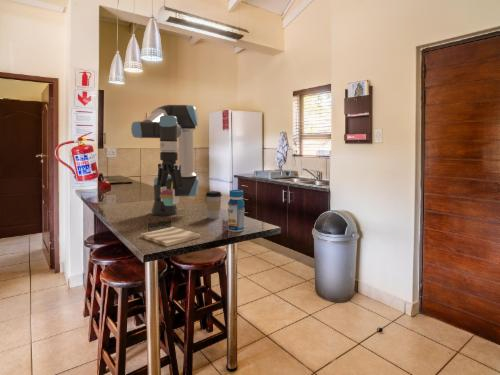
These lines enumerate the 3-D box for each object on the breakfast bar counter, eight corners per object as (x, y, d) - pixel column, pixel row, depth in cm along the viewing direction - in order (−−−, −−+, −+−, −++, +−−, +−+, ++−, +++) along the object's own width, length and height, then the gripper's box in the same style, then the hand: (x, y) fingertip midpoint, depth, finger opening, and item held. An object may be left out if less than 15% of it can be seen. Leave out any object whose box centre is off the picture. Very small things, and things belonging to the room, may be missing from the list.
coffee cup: (219, 220, 183) (219, 193, 181) (203, 219, 185) (203, 193, 183) (223, 216, 193) (223, 191, 191) (208, 215, 194) (208, 190, 192)
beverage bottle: (245, 231, 159) (246, 191, 157) (228, 232, 158) (228, 191, 155) (243, 227, 167) (243, 189, 165) (226, 228, 166) (227, 189, 163)
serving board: (140, 237, 148) (140, 233, 148) (173, 229, 162) (173, 226, 161) (166, 246, 135) (166, 242, 135) (200, 237, 149) (200, 234, 148)
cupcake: (170, 202, 152) (170, 177, 151) (183, 204, 147) (183, 178, 146) (156, 205, 145) (155, 178, 144) (168, 207, 140) (168, 179, 139)
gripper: (147, 151, 147) (149, 200, 150) (176, 152, 134) (177, 206, 136) (162, 150, 153) (163, 198, 156) (190, 152, 139) (191, 204, 142)
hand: (169, 202), depth 146 cm, fingers closed on cupcake, 8 cm apart
